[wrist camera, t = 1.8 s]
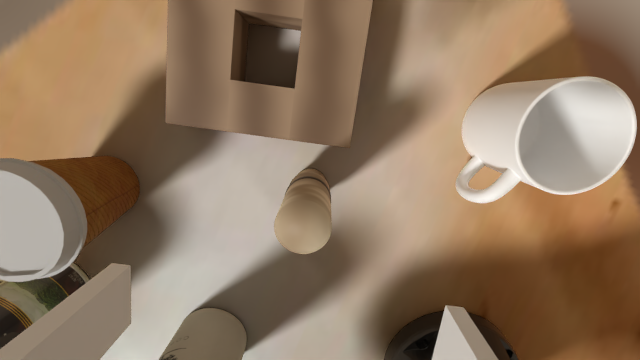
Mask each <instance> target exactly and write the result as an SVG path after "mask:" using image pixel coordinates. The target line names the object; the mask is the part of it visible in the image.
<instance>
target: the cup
mask: <svg viewBox="0 0 640 360" xmlns="http://www.w3.org/2000/svg"><path fill="white" fill-rule="evenodd" d="M636 130H637V120H636V114H635V110H634V107H633V105H632V103H631V101H630V99H629V98H628V96H627V95H626V93H625V92H624V91H623V90H622V89H620V88H619V87H618V86H617V85H615V84H614V83H612V82H610V81H608V80H605V79H602V78H598V77H591V76H581V77H570V78H558V79H547V80H536V81H525V82H513V83H505V84H500V85H497V86H494V87H492V88H490V89H488V90H486V91H484V92H483V93H481V94H480V95H479V96H478V97H477V98H476V99H475V100H474V101H473V102H472V103H471V105H470V106H469V108H468V109H467V111H466V113H465V116H464V119H463V123H462V139H463V143H464V145H465V148H466V149H467V151H468V153H469V154H470V155H471V156H472V158H471V160H470V161H469V162H468V163H467V164H466V165H465V166H464V167H463V169H462V170H461V171H460V173H459V175H458V177H457V179H456V189H457V191H458V193H459V194H460V195H461V196H462V197H463V198H465V199H467V200H469V201H472V202H476V203H488V202H492V201H495V200H497V199H499V198H501V197H502V196H504V195H505V194H506V193H508V192H509V191H510V190H511V189H512V188H513V187H514V186H515V185H517V184H518V183H519V182H520V181H522V182H524V183H527V184H529V185H531V186H534V187H536V188H539V189H541V190H543V191H546V192H549V193H553V194H560V195H569V194H577V193H581V192H585V191H588V190H591V189H593V188H595V187H597V186H599V185H601V184H602V183H604V182H605V181H607V180H608V179H609V178H610V177H612V176H613V175H614V174H615V173H616V172H617V171H618V170H619V169H620V168H621V166H622V165H623V164H624V162H625V161H626V159H627V158H628V156H629V154H630V152H631V150H632V147H633V144H634V141H635V137H636ZM484 166H486V167H489V168H491V169H493V170H496V171H498V172H500V173H503V174H502V175H501V176H500V177H499V178H498V179H497V180H496V181H495V182H494V183H493V184H492V185H491V186H489V187H488V188H486V189H483V190H475V189H472V188H470V187H469V186H468V183H469V181H470V179H471V178H472V177H473V176H474V175H475V174H476V173H477V172H478V171H479V170H480V169H481V168H483V167H484Z"/></svg>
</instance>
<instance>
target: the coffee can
mask: <svg viewBox="0 0 640 360" xmlns="http://www.w3.org/2000/svg"><path fill="white" fill-rule="evenodd" d="M89 280H90V279H89V278H88V276H87V275H86V274H85V273H84V271H83V270H82V269H80V268H79V267H78V266H77V265H76V264H74V263H72V264H71V265H70V266H68V267H67V268H66V269H65V270H63V271H62V272H60V273H58V274H56V275H53V276H50V277H46V278H41V279H34V280H30V281H24V282H8V281H4V280H1V279H0V338H1V337H3V336H5V335H7V334H9V333H11V332H17V333H22V332H23V331H24V330H26V329H27V328H28V327H30V326H31V325H32V324H34V323H35V322H36V321H37V320H39V319H40V318H41V317H43V316H44V315H45V314H46V313H48V312H49V311H50V310H52V309H53V308H54V307H56V306H57V305H58V304H59V303H61V302H62V301H63V300H65V299H66V298H67V297H69V296H70V295H71V294H72V293H74V292H75V291H76V290H78V289H79V288H80V287H82V286H83V285H84V284H85V283H87V282H88V281H89Z"/></svg>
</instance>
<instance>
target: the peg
mask: <svg viewBox="0 0 640 360" xmlns="http://www.w3.org/2000/svg"><path fill="white" fill-rule="evenodd" d="M274 230H275V234H276V237H277V239H278V241H279V242H280V243H281V244H282V246H284V247H285V248H286V249H288V250H289V251H292V252H294V253H298V254H309V253H313V252H315V251H318V250H319V249H321V248H322V247H323V246H324V245H325V244H326V243H327V241H328V240H329V238H330V235H331V230H332V223H331V195H330V188H329V185H328V183H327V181H326V178H325V176H324V175H323V174H322V173H321V172H320V171H318V170H316V169H311V168H310V169H305V170H302V171H301V172H300V173H299V174H298V175H297V176H296V177H295V178H294V179H293V180H292V181H291V183H290V185H289V187H288V189H287V191H286V194H285V197H284V199H283V202H282V204H281V207H280V209H279V211H278V214H277V216H276V219H275V223H274Z"/></svg>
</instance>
